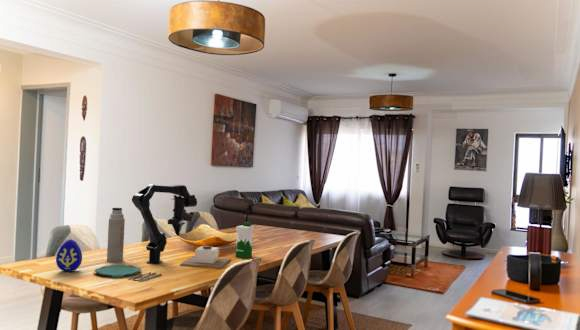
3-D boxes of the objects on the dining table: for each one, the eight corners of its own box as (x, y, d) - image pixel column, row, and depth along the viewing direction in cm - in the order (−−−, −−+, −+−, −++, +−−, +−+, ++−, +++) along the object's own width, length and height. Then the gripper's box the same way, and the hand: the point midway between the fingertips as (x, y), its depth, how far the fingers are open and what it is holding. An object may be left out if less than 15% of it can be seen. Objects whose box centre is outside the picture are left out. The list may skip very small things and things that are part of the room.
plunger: (209, 261, 251) (210, 247, 251) (201, 260, 251) (201, 246, 251) (211, 259, 256) (212, 246, 256) (203, 258, 256) (204, 245, 256)
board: (221, 268, 241) (221, 266, 241) (180, 265, 244) (180, 263, 244) (230, 260, 263) (230, 258, 263) (192, 257, 266) (192, 255, 266)
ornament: (53, 273, 215) (55, 241, 215) (58, 269, 224) (59, 237, 224) (79, 273, 218) (81, 241, 218) (83, 268, 227) (84, 237, 227)
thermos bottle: (125, 259, 251) (128, 207, 251) (117, 262, 243) (119, 209, 243) (112, 258, 253) (114, 206, 253) (103, 261, 245) (106, 208, 245)
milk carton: (253, 256, 276) (255, 222, 276) (245, 259, 268) (247, 224, 268) (241, 254, 280) (243, 221, 280) (232, 257, 272) (234, 222, 272)
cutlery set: (117, 266, 235) (118, 262, 235) (165, 276, 223) (165, 271, 223) (85, 274, 217) (85, 270, 217) (135, 286, 205) (135, 280, 205)
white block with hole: (213, 263, 248) (213, 250, 248) (194, 262, 249) (195, 249, 249) (217, 259, 258) (218, 247, 258) (200, 258, 259) (200, 246, 259)
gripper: (188, 209, 249) (186, 239, 249) (198, 206, 268) (197, 234, 268) (167, 208, 250) (166, 237, 250) (179, 205, 269) (178, 232, 269)
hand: (177, 235), depth 259 cm, fingers closed
